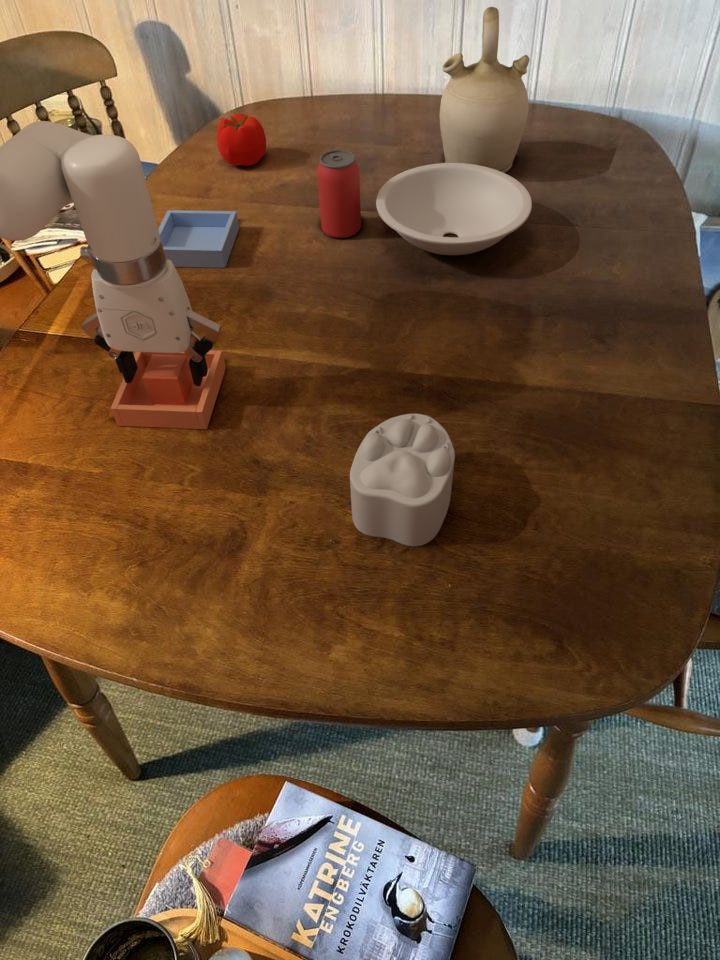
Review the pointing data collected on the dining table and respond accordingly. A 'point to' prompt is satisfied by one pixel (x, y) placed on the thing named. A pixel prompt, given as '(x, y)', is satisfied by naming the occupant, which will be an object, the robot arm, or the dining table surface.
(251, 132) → the tomato
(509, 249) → the dining table surface
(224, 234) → the blue tray
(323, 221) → the beer can
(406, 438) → the lumpy-topped squat cylinder
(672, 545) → the dining table surface
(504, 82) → the jug
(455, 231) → the vessel sink basin
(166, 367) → the terracotta block
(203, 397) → the terracotta tray
